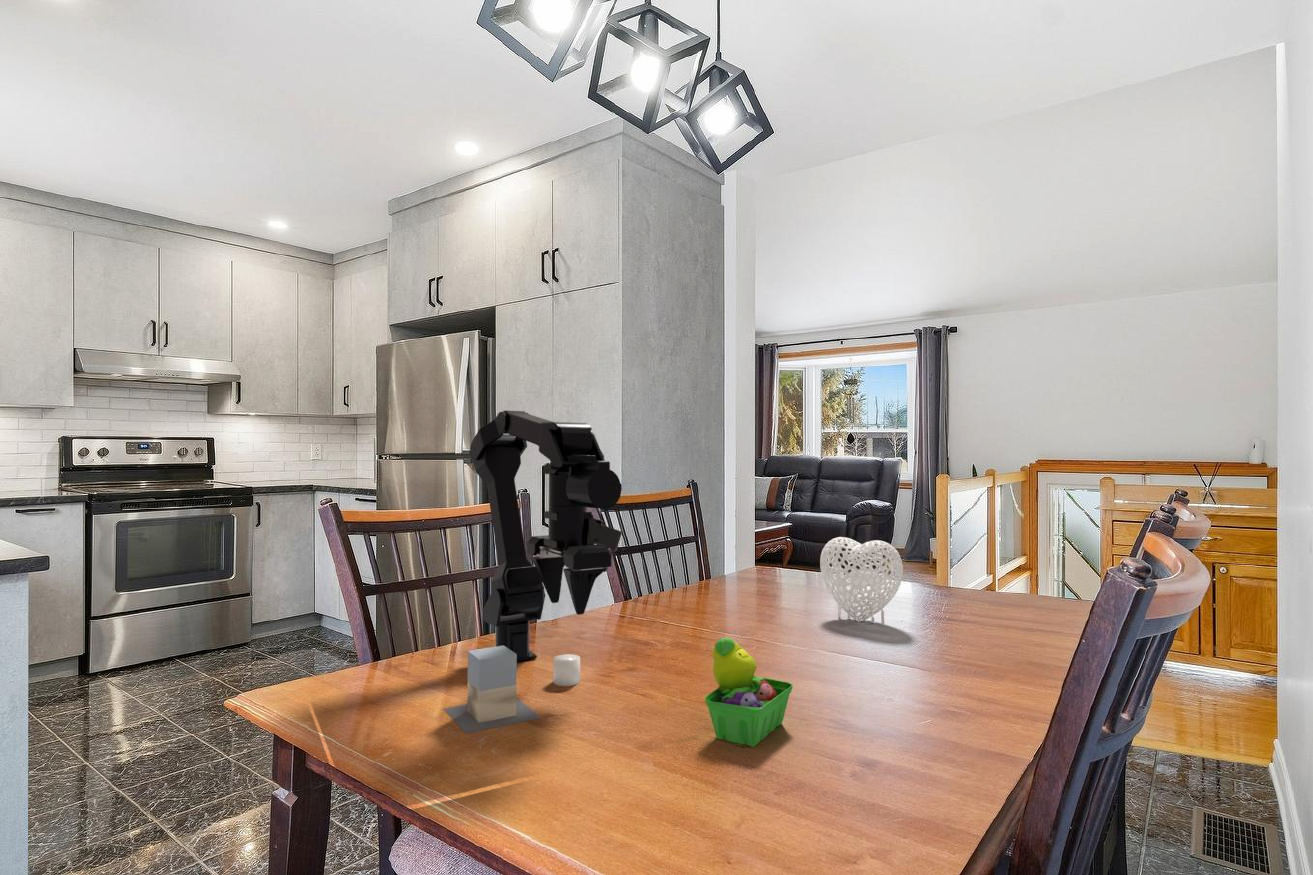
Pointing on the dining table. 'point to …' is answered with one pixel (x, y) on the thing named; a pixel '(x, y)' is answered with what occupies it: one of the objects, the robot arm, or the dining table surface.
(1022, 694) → the dining table surface
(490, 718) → the bottom block
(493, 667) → the top block
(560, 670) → the white cylinder
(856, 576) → the decorative heart
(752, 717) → the fruit basket
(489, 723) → the mat
